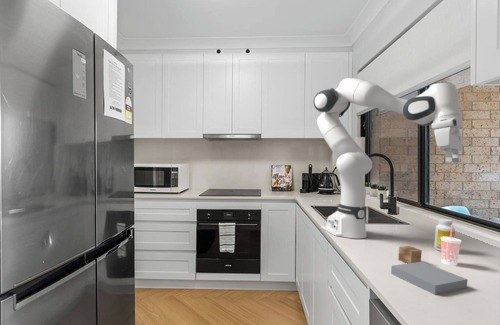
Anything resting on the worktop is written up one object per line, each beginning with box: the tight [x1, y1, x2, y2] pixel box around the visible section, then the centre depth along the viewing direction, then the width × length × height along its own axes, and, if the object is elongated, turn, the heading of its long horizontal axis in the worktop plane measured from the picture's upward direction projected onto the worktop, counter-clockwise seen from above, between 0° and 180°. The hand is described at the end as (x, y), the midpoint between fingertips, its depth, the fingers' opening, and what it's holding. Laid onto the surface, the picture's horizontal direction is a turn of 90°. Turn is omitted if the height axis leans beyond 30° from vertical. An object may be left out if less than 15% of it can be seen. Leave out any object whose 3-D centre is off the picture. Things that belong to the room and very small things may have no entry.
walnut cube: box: [397, 245, 422, 264], centre depth 101 cm, size 5×5×5 cm
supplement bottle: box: [433, 218, 456, 252], centre depth 117 cm, size 7×7×13 cm
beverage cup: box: [440, 224, 462, 267], centre depth 102 cm, size 6×6×14 cm
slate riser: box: [390, 261, 468, 295], centre depth 86 cm, size 14×14×2 cm
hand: (453, 162), depth 103 cm, fingers open, 8 cm apart
